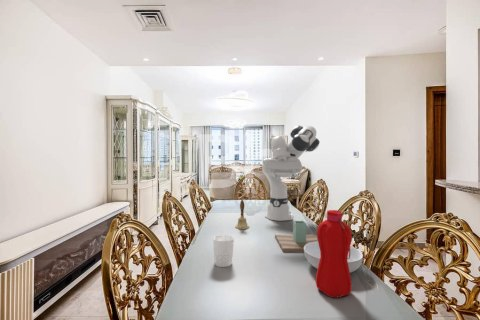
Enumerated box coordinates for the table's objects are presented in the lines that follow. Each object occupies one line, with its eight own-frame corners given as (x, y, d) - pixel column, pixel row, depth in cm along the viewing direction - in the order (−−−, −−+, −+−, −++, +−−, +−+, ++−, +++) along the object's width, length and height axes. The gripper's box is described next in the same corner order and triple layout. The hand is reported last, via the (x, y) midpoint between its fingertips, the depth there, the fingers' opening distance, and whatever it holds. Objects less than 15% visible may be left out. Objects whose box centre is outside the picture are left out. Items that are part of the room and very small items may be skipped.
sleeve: (292, 239, 127) (293, 220, 127) (303, 239, 127) (303, 220, 127) (295, 242, 122) (295, 223, 122) (306, 242, 122) (306, 223, 122)
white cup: (217, 269, 96) (218, 242, 96) (210, 261, 103) (210, 236, 103) (237, 265, 99) (237, 239, 99) (228, 258, 106) (228, 233, 106)
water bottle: (336, 304, 74) (338, 216, 73) (311, 286, 84) (312, 208, 83) (360, 297, 77) (362, 213, 77) (333, 281, 87) (334, 206, 87)
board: (274, 237, 134) (274, 234, 134) (313, 237, 135) (313, 234, 135) (282, 251, 114) (282, 248, 114) (327, 251, 115) (328, 248, 115)
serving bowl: (300, 275, 92) (300, 256, 92) (306, 254, 111) (306, 238, 111) (365, 286, 85) (366, 265, 84) (359, 261, 104) (360, 244, 104)
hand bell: (232, 228, 151) (233, 200, 151) (238, 224, 158) (238, 198, 158) (246, 229, 148) (246, 201, 147) (251, 226, 155) (251, 199, 155)
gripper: (263, 154, 143) (265, 173, 134) (300, 154, 144) (305, 173, 134) (262, 162, 148) (264, 181, 138) (298, 162, 149) (302, 181, 139)
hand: (284, 177), depth 136 cm, fingers open, 8 cm apart
